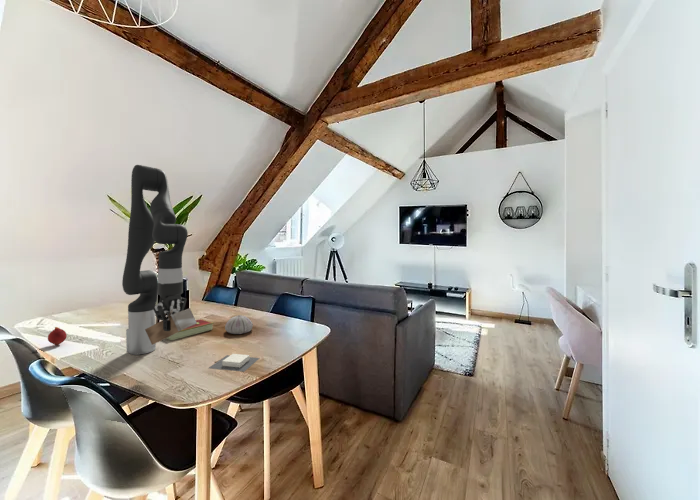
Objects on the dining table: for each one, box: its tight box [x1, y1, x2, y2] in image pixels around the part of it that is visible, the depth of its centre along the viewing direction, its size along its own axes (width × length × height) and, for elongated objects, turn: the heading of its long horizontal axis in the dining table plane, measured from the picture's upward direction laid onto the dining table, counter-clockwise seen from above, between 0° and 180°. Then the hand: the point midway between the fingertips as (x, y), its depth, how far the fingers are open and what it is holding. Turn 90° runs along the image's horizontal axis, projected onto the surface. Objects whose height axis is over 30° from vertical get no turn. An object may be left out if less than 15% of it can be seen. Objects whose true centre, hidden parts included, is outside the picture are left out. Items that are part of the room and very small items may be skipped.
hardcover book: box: [166, 318, 214, 341], centre depth 149 cm, size 12×21×4 cm, turn 147°
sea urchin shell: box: [224, 314, 254, 335], centre depth 151 cm, size 13×14×8 cm
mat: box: [208, 354, 260, 373], centre depth 113 cm, size 14×12×1 cm
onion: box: [47, 326, 68, 346], centre depth 129 cm, size 6×6×8 cm
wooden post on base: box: [145, 308, 197, 345], centre depth 106 cm, size 15×8×6 cm, turn 80°
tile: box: [222, 353, 251, 367], centre depth 113 cm, size 2×7×7 cm
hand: (170, 329), depth 106 cm, fingers closed on wooden post on base, 3 cm apart
